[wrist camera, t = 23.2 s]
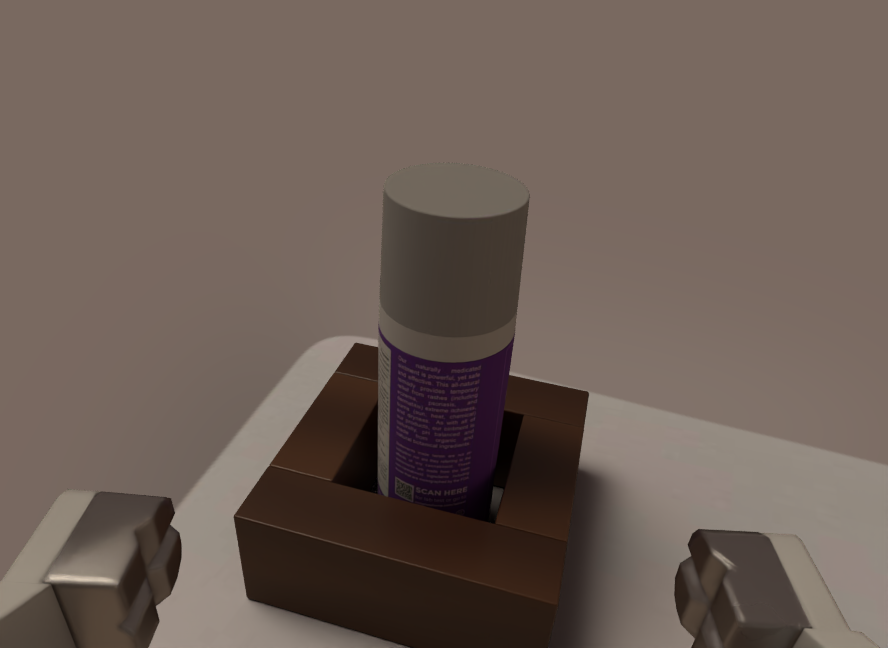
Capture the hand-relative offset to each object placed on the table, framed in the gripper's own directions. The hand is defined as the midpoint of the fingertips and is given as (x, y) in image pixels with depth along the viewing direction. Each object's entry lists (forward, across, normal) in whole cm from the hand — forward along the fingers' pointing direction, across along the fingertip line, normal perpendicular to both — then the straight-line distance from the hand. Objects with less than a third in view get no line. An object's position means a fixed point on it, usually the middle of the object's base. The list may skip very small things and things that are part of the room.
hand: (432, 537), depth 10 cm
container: (+12, 0, +14) cm, 19 cm away
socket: (+12, 0, +14) cm, 18 cm away
